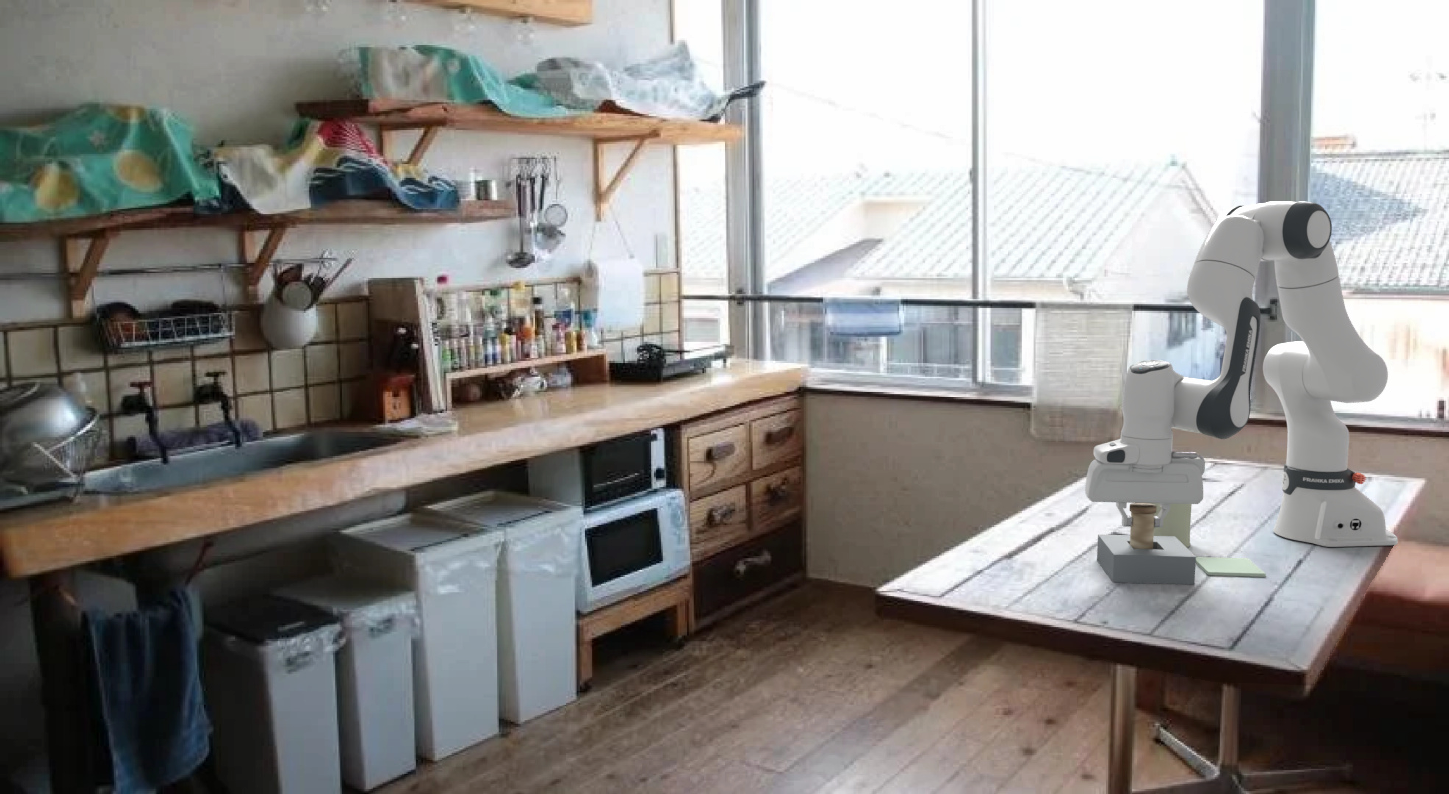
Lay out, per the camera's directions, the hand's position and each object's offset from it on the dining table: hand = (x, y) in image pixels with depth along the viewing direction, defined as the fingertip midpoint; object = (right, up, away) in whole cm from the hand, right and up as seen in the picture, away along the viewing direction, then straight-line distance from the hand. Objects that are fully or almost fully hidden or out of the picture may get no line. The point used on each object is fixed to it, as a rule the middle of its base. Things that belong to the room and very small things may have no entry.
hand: (1141, 526), depth 221 cm
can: (+12, -6, +21) cm, 25 cm away
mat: (+17, -8, +4) cm, 19 cm away
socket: (+1, -8, +1) cm, 9 cm away
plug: (0, -8, +1) cm, 8 cm away
